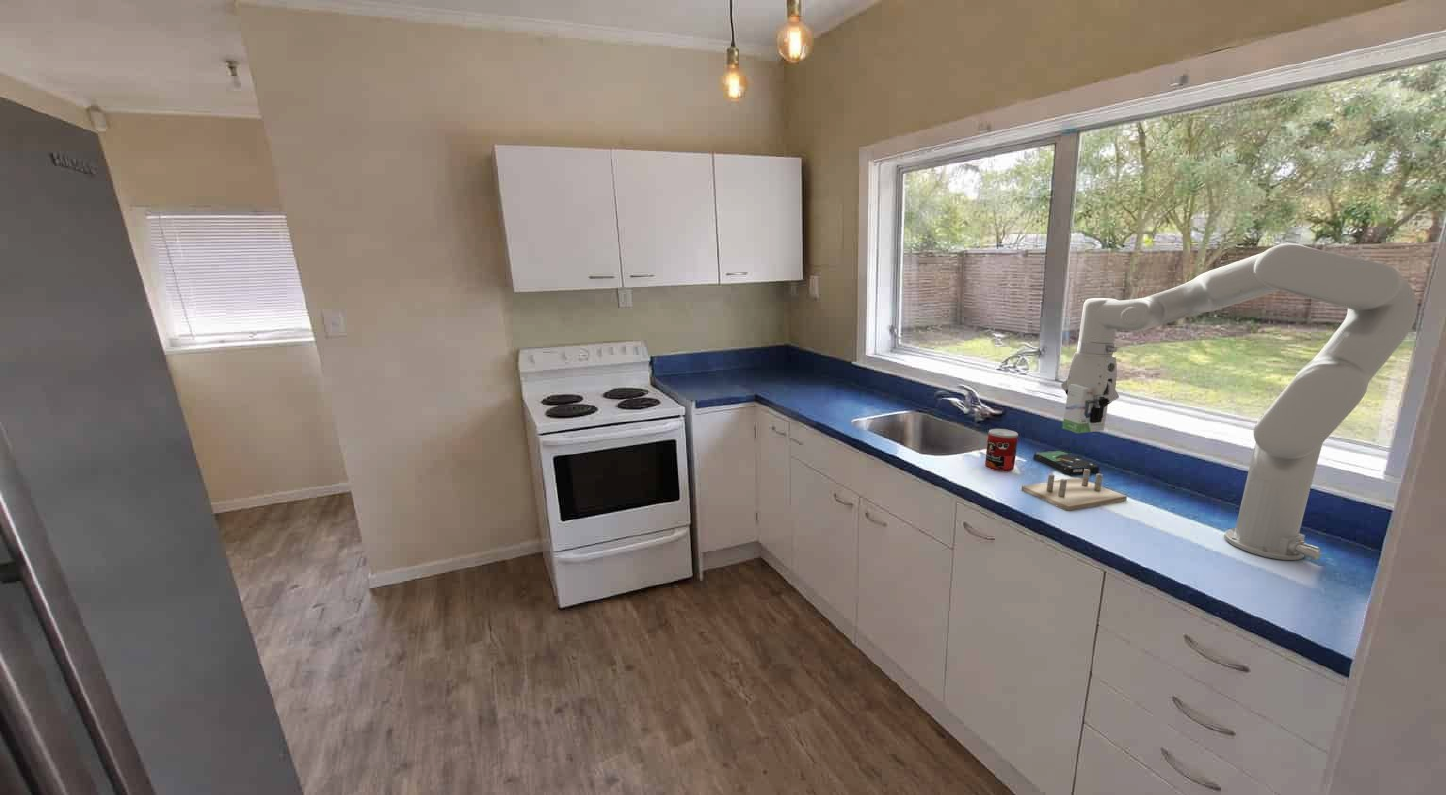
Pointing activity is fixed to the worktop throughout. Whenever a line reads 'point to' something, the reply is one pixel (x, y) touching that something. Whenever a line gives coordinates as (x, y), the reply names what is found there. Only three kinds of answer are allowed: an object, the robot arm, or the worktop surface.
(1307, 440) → the robot arm
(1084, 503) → the pin tray
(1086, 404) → the ink box
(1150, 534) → the worktop surface
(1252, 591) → the worktop surface
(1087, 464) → the disk drive
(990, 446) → the canned food
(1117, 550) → the worktop surface
